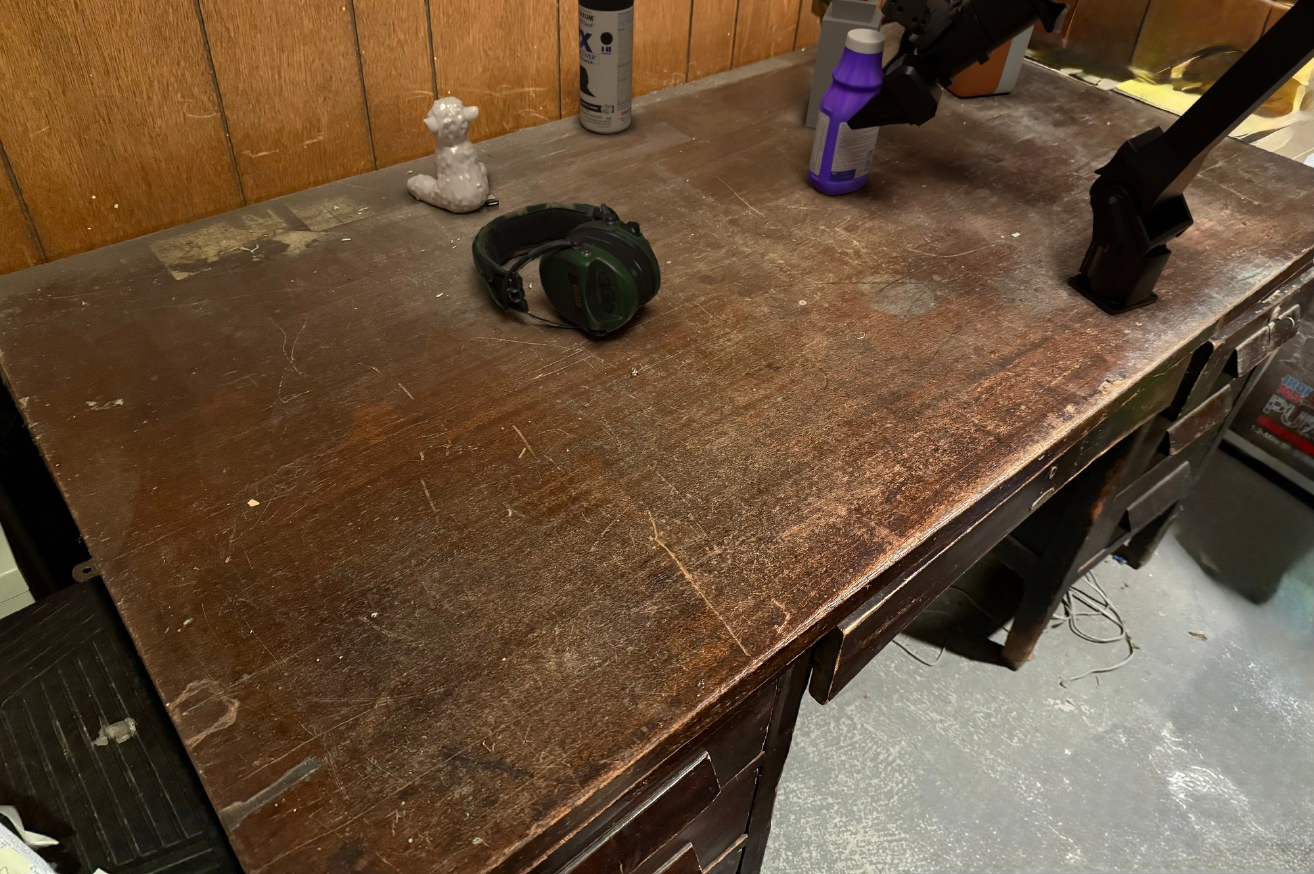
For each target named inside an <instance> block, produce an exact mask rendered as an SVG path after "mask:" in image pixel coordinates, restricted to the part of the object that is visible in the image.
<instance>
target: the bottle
mask: <svg viewBox="0 0 1314 874" xmlns="http://www.w3.org/2000/svg"><path fill="white" fill-rule="evenodd" d="M886 38H887V37H886V36H885V35H884V33H882V32H881V31H880V32H878V31H875V30H870V29H854V30H851V31H849V32H848V34H847V38H846V42H845V48H844V51H843V54H842V57H841V59H840V61H839V63H838V64H837V66H836V67H835V68H834V70H833V71H832V78H833V82H832V83H831V85H830V86H829V88H828V89H827V91H826V92H825V94H824V96H823V98H822V100H821V103H820V109H819V114H818V119H817V125H816V128H815V131H814V136H813V141H812V148H811V153H810V158H809V159H810V160H809V165H808V169H807V176H808V181H809V183H810V185H811V186H812V187H814V188H815V189H817V190H818V191H819V192H821V193H823V194H825V195H831V196H837V195H844V194H848V193H853V192H855V191H858V190H859V189H861V188H862V187H863V186H864V185H865V184H866V182H867V180H868V178H869V174H870V171H871V170H870V169H871V166H872V162H873V156H874V152H875V149H876V148H875V147H876V144H877V139H878V135H879V130H880V127H881V126H878V127H871V128H864V129H856V130H851V129H850V127H849V126H848V125H847V121H848V119H849V118H850V117H852V116H853V115H854V114H855V113H856V112H857V111H858V110H859V109H860V108H861V107H862V106H863V105H864V104H865V103H866V102H867V101H868V100H869V99H870V98H871V97H873V96H874V95H875V94H876V93H877V92H878V91H879V90H880V89H881V88H880V86H881V84H882V77H883V75H884V73H883V69H882V68H883V57H884V56H883V55H884V50H885V44H886Z"/></svg>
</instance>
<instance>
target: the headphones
mask: <svg viewBox="0 0 1314 874" xmlns="http://www.w3.org/2000/svg"><path fill="white" fill-rule="evenodd" d="M640 226H641V225H640V223H639V222H638V221H633V220H629V221H628V222H626V223H625V221H623V220H621V218H620V217H619V215H618V213H617V212H616V211H615V210H614V209H613V208H612V207H610V206H608V205H607V203H605V202H604V203H600V206H597V205H592V204H589V203H579V202H571V201H555V202H554V201H552V202H551V201H550V202H542V203H541V202H540V203H535V204H530V205H526V206H523V207H519V208H517V209H514V210H512V211H509V212H506V213H504V214H501V215H499V216H497V217H495V218H494V219H492V220H490V221H489V222H488V223H486V224H485V225H483V226H482V227H481V228H480V229H479V230H478V232H477V234H476V235H474V237H473V239H472V243H471V255H472V259H473V263H474V265H475V268H476V270H477V273H478V274H479V276H480V278H481V280H482V284H483V287H484V289H485V291H486V293H487V294H488V295H489V297H490V298H491V299H492V300H493V301H494V302H495V303H496V304H497V305H498V306H499V307H501V309H503V311H504V312H508V311H509V310H513V311H515V312H519V313H522V314H525V315H526V316H528V317H529V318H531V319H532V320H535V321H537V322H540V323H543V324H547V325H550V326H555V327H561V328H570V329H579V328H581V329H583V330H584V331H585V332H586V333H587V334H589V335H591V334H593V335H594V336H597V337H603V336H607V335H608V333H611V332H613V331H615V330H618V329H619V328H621V327H623V326H624V325H625V324H626V323H628V321H630V320H631V319H632V318H633V316H634V315H635V314H636V312H637V310H638V309H639V308H640V307H641V306H644V305H646V304H648V303H649V302H650V301H652V300H653V299H654V298H655V297H656V296H657V295H658V293H659V291H660V289H661V283H662V276H661V268H660V265H659V261H658V259H657V256H656V254H655V252H654V250H653V248H652V246H651V244H650V242H649V240H648V239H647V238H646V237H645V235H644V234H643V233H642V232H641V227H640ZM524 254H525V255H524ZM520 255H524V256H522V257H521V258H520V259H519V260H517V261H516V262H514V263H513V264H512V266H511V267H510V268H509V270H507V269H504V267H503V266H501V265H502V264H504V263H505V261H508V260H510V259H512V258H514V257H515V258H516V257H517V256H520ZM538 258H539V264H538V274H539V279H540V283H541V287H542V289H543V291H544V294H545V295H546V297H547V299H548V300H549V302H550V304H551V305H552V306H553V308H554V309H556V311H558V312H559V314H561V316H563V317H564V318H566V319H567V320H569V321H570V322H572V323H573V324H572V323H571V324H568V323H567V324H566V323H559V322H554V321H551V320H549V319H547V318H542V317H540V316H537V315H535V314H532V313H529V311H530V309H529V304H528V301H527V299H526V290H525V289H524V280H523V276H521V274H519V271H521V270H522V269H523V268H525V266H527V265H528V264H530V263H531V262H532V261H534V260H536V259H538Z"/></svg>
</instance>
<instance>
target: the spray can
mask: <svg viewBox="0 0 1314 874" xmlns="http://www.w3.org/2000/svg"><path fill="white" fill-rule="evenodd" d="M634 11H635V0H577V12H578V15H577V17H578V57H579V58H578V61H579V62H578V68H579V69H578V71H579V119H580V122H581V125H582V127H584V129H585V130H586V131H590V132H591V133H594V134H600V135H614V134H619V133H622V132H625V131H626V130H627V129H628V128H630V125H631V123H632V106H633V103H632V102H633V65H634V64H633V62H634V59H633V57H634V17H635V12H634Z"/></svg>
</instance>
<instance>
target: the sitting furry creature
mask: <svg viewBox="0 0 1314 874" xmlns="http://www.w3.org/2000/svg"><path fill="white" fill-rule="evenodd" d="M478 116H479V108H478V106H476V105H470V106H465V104H464V102H463V100H460V99H459V98H456V97H455V96H445V97H444V98H443V97H440V98H439V99H436V100H434V101H433V105H432V107H431V109H429V110H428V112H427V114H426V118H424V119H423V122H424V123H425V125H426V128H427V130H428V131H429V132H430V133H431V135H432V136H434V138H435V147H436V148H435V149H434V157H433V164H434V166H435V168H436V171H437V173H436V177H437V178H436V179H435V177H433V176H431V175H429V174H426V175H425V174H422V173H418V175H414V176H412V177H410V178H409V179H408V180H407V183H406V184H407V185H406V186H407V190H408V191H409V192H410V194H411V195H412V196H413V197H415V198H416V201H419V200H421V201H422V202H425V203H428V204H430V205H433V206H436V207H438V208H441V209H446V210H448V211H450V212H452V213H456V214H459V213H461V214H464V213H469V212H474V211H476V210H478V209H480V208H481V207H483V206H484V205H485V203H486V202H487V200H488V199H487V198H488V195H489V192H490V191H489V190H490V189H489V188H490V185H489V181H488V180H489V179H488V177H489V175H488V170H487V167H486V165H485V163H484V162H481V161H480V159H479V153H478V152H477V151H476V149H475V145H474V144H473V142H472V141H471V139H470V137H469V136H468V135H469V132H470V130H471V126H472V121H475V120H477V118H478Z"/></svg>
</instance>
